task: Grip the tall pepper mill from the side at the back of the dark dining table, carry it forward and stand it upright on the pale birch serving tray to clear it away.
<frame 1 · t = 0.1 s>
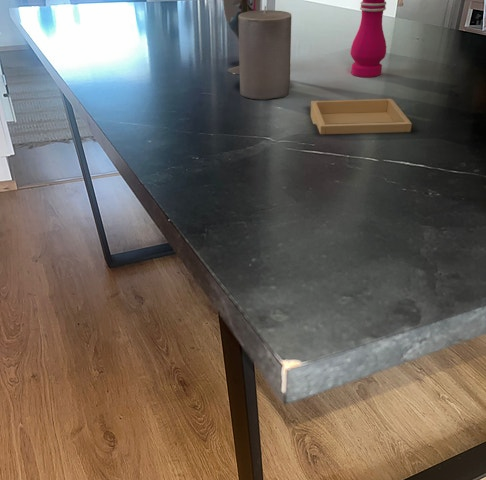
pillar candle: (264, 93, 102), on the table
pepper mill: (365, 74, 112), on the table
tray: (356, 127, 85), on the table
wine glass: (243, 71, 117), on the table
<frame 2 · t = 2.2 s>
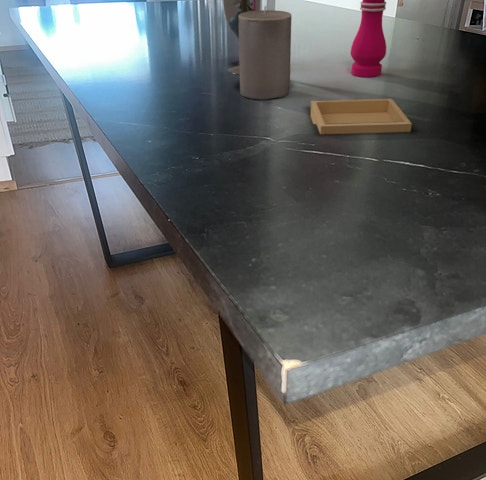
nothing on the table moved.
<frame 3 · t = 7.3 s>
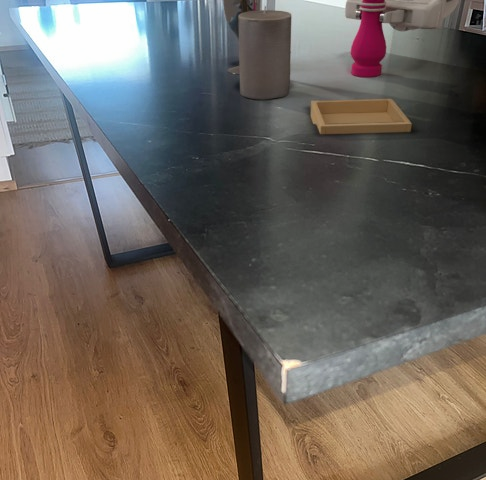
hand: (369, 16, 105), 11 cm above the table, tool horizontal, fingers closed on pepper mill, 5 cm apart
pepper mill: (365, 74, 112), on the table, touching gripper
everything else where it was.
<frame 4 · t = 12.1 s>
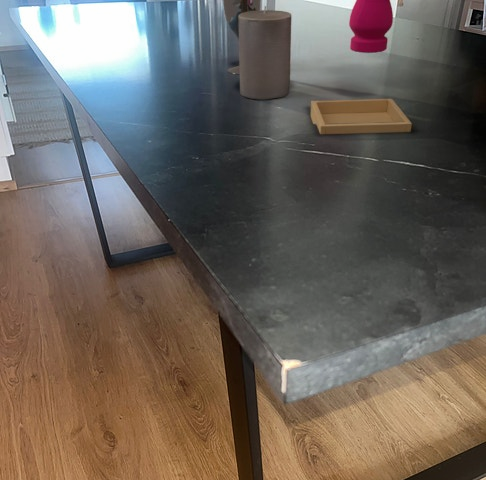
pepper mill: (368, 50, 92), point 8 cm above the table, touching gripper
everything else where it was.
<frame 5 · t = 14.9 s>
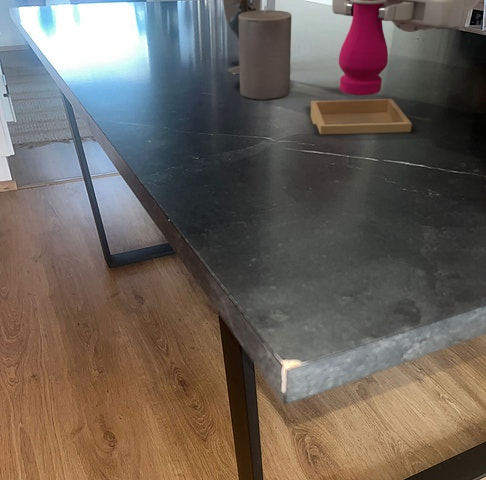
hand: (364, 11, 75), 17 cm above the table, tool horizontal, fingers closed on pepper mill, 5 cm apart
pepper mill: (359, 91, 82), point 6 cm above the table, touching gripper
everything else where it was.
when the fingers open (12 cm above the table, at t = 16.9 s): pepper mill stays where it is, resting on tray.
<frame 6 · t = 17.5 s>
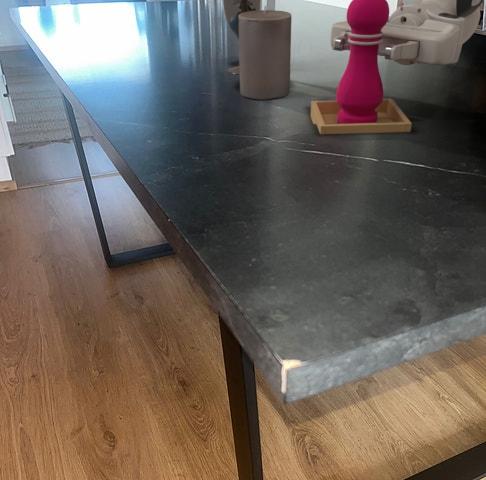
hand: (361, 49, 78), 12 cm above the table, tool horizontal, fingers open, 8 cm apart
pepper mill: (356, 124, 85), resting on tray
everything else where it was.
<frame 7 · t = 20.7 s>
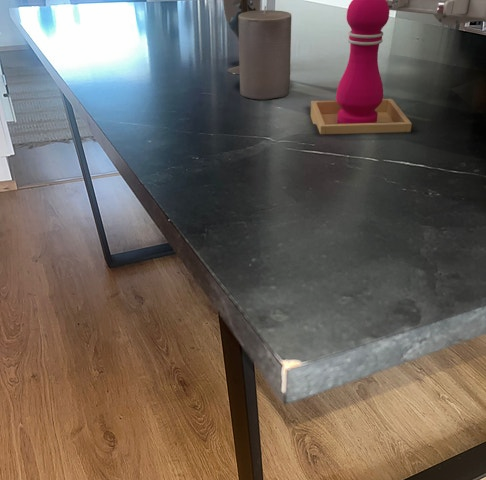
hand: (414, 5, 82), 16 cm above the table, tool horizontal, fingers open, 8 cm apart
nothing on the table moved.
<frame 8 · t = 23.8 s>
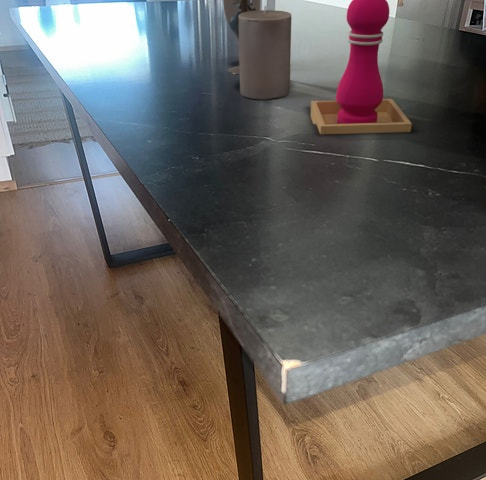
nothing on the table moved.
at the end: pepper mill inside the target area in the tray (0.2 cm from its centre), point 0.4 cm above the tray's base; pepper mill tilted 0°; the gripper is holding nothing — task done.
